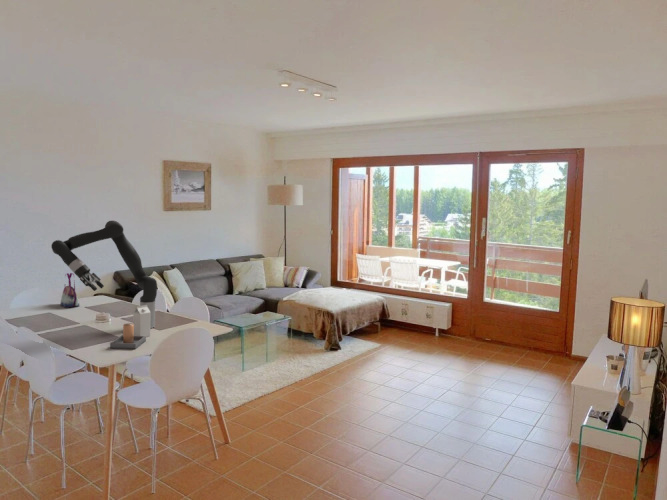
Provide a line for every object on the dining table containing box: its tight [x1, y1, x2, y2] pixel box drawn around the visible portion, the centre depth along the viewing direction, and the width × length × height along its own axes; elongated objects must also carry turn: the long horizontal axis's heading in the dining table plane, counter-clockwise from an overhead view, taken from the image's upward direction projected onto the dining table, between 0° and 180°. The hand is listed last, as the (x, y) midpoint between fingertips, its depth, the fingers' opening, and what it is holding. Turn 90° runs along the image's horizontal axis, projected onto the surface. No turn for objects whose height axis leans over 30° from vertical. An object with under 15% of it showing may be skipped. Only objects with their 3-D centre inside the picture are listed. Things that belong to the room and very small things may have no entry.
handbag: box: [60, 272, 80, 309], centre depth 367 cm, size 21×10×25 cm, turn 49°
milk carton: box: [132, 305, 151, 338], centre depth 298 cm, size 7×7×19 cm
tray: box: [109, 334, 147, 350], centre depth 281 cm, size 16×14×3 cm
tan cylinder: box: [122, 322, 134, 344], centre depth 281 cm, size 6×6×11 cm
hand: (99, 288), depth 284 cm, fingers open, 8 cm apart
